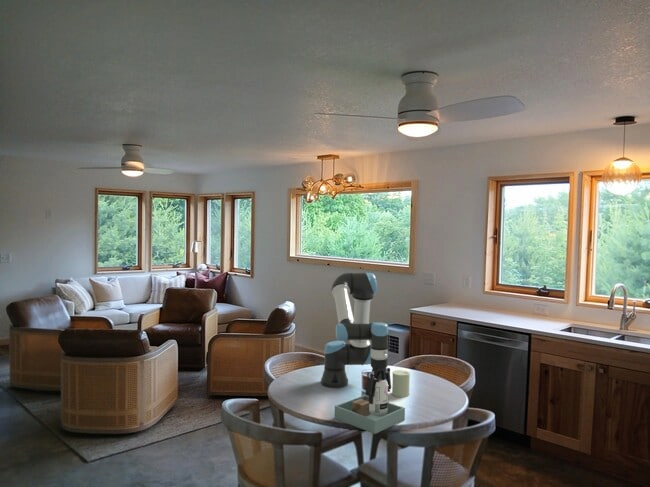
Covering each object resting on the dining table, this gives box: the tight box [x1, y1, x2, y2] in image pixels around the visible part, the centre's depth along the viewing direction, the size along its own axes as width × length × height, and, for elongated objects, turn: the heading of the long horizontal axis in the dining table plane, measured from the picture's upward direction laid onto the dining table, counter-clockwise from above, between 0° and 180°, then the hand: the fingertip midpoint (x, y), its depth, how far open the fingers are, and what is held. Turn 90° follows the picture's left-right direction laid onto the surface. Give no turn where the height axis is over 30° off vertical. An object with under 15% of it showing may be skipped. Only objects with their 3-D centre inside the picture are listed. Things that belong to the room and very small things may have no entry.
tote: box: [334, 394, 406, 435], centre depth 219 cm, size 24×22×6 cm
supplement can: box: [369, 378, 389, 416], centre depth 215 cm, size 8×8×15 cm
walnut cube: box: [352, 399, 370, 417], centre depth 222 cm, size 6×6×6 cm
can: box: [391, 369, 411, 398], centre depth 252 cm, size 9×9×12 cm
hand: (378, 408), depth 215 cm, fingers closed on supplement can, 8 cm apart
